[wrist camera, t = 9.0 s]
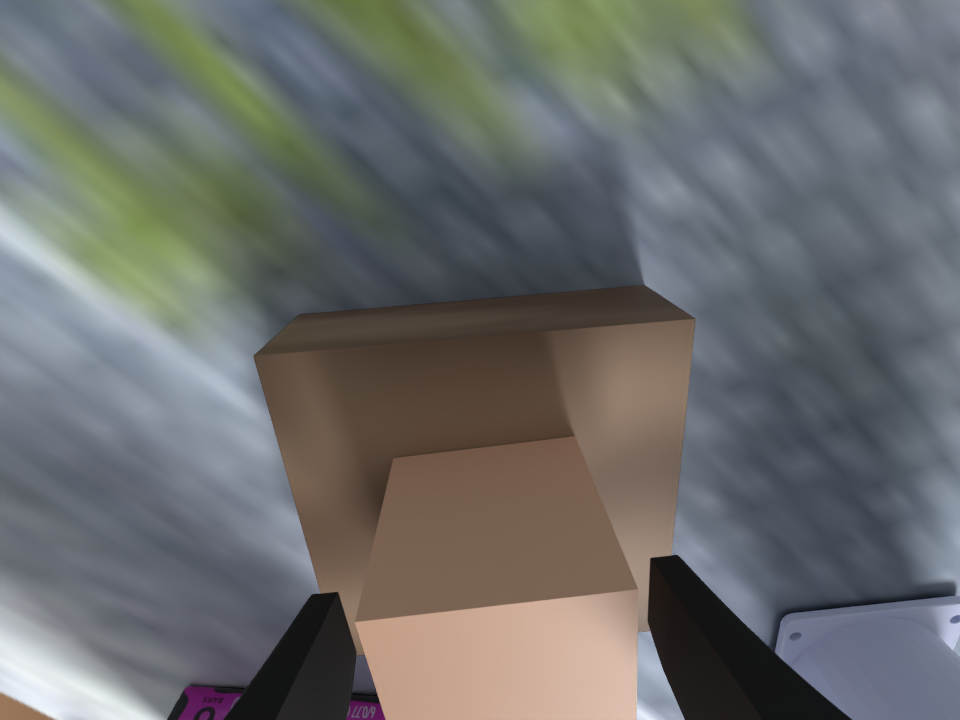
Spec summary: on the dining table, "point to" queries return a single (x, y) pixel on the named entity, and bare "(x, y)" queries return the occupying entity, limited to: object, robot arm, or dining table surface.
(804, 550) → the dining table surface
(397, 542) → the cube
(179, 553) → the dining table surface
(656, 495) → the base block
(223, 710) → the candy bar box
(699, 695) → the robot arm
